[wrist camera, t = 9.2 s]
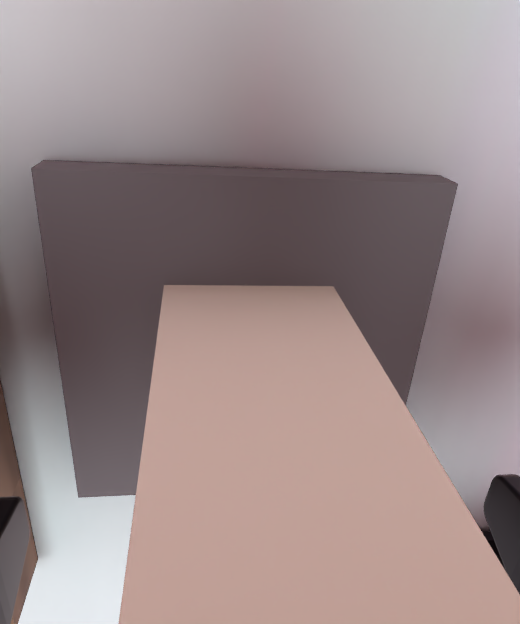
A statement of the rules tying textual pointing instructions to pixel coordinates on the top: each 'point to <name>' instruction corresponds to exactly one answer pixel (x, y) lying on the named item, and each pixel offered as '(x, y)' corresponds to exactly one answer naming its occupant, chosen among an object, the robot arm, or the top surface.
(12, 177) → the top surface
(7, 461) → the pocket block
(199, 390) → the pink block
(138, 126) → the top surface
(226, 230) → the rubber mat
